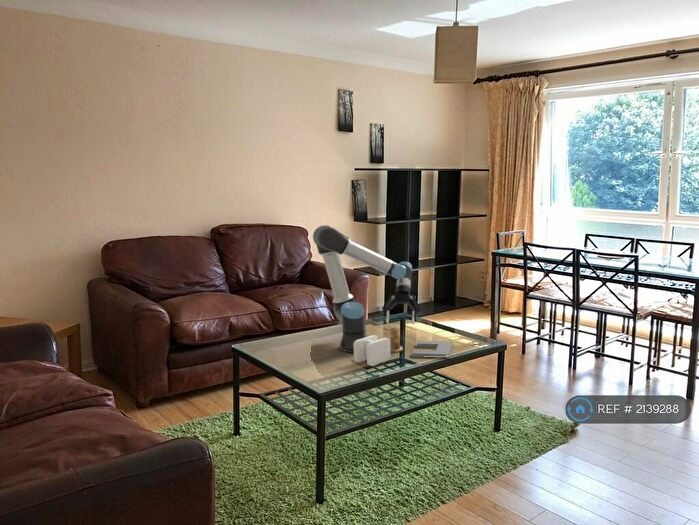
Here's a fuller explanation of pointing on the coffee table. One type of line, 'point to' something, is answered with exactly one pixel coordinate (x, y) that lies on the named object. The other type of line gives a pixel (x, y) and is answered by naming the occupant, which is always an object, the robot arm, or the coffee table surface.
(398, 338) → the bobbin
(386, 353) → the cable organizer
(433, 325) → the coffee table surface
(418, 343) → the notched board
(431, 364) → the coffee table surface
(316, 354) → the coffee table surface
